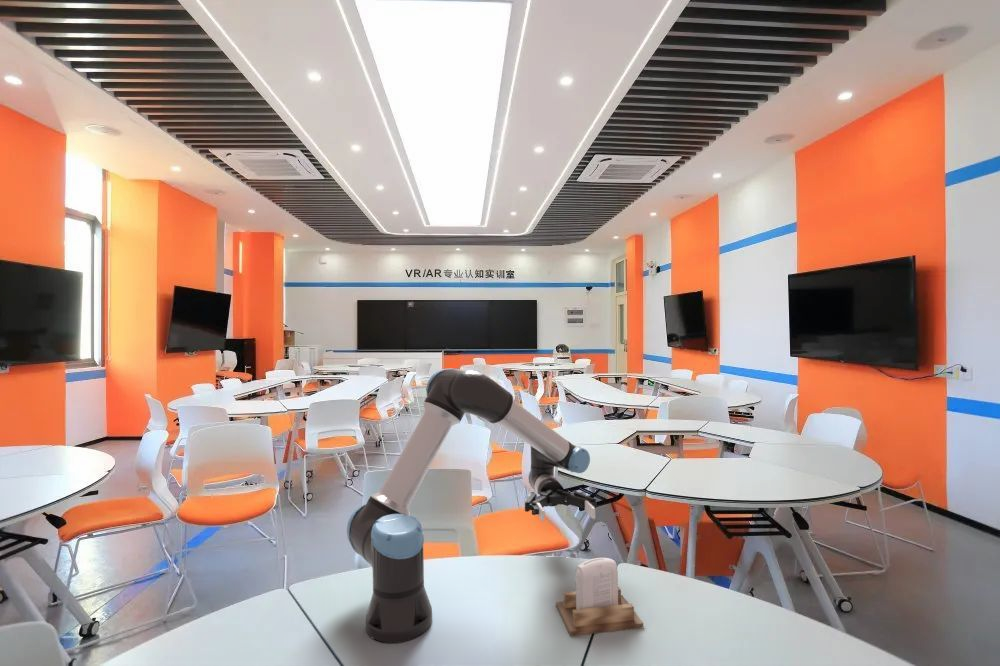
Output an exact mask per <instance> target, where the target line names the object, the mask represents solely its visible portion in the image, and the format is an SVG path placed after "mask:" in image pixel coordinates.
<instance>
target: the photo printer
mask: <svg viewBox="0 0 1000 666" xmlns="http://www.w3.org/2000/svg"><path fill="white" fill-rule="evenodd" d="M618 572H619V571H618V566H617V563H616V561H615V560H613V559H612V558H608V557H597V558H596V557H595V558H592V559H591V558H590V559H588V560H586V561H583V562H581V563H579V564H578V565H576V568H575V591H576V610H577V609H586V608H595V607H604V606H613V605H618V587H619V586H618V585H619V584H618V581H619V580H618V578H619V577H618V575H619V574H618Z"/></svg>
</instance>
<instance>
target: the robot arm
mask: <svg viewBox="0 0 1000 666" xmlns="http://www.w3.org/2000/svg"><path fill="white" fill-rule="evenodd" d="M428 379H429V380H428V381H427V384H426V387H425V391H426V398H425V399H424V402H423V403H422V404H423V409H424V411H423V414H422V416H421V418H420V419H419V421H418V423H417V425H416V426H415V428H414V430H413V432H412V433H411V435H410V437H409V439H408V441H407V443H406V444H405V445H404V448H403V449H402V451H401V453H400V455H399V456H398V459H397V460H396V461H395V464H394V465H393V467H392V469H391V471H390V473H389V474H388V476H387V478H386V479H385V482H384V483H383V485H382V487H381V489H380V490H379V491H378V492H374V493H373V494H370V496H369V498H368V500H367V501H366V502H365V504H363V505H361V506H359V507H357V508H356V509H355V510H354V511H353V513H352V514H351V515H350V517H349V519H348V521H347V525H346V535H347V537H346V538H347V541H348V542H349V544H350V545H351V548H352V549H353V551H354V552H356V554H358V555H359V556H361V557H362V558H363V559H364V560H365V561H366V562H367V563H368V564H369V565H370V566H371V569H372V595H371V599H370V602H369V605H368V609H367V611H366V612H367V613H366V615H365V630H366V634H367V635H368V634H369V635H370V636H371V637H373V638H374V639H373V638H372V639H373V640H375V639H376V640H375V641H377V640H378V642H380V641H382V643H388V644H389V643H391V644H393V643H394V644H395V643H402V642H406V641H410V640H413V639H416V638H418V637H420V636H421V635H422V634H424V633H425V632H426V631H427V630H428V629H429V628H430V626H431V625H432V622H433V609H432V608H433V607H432V605H431V602H430V599H429V596H428V594H427V593H428V592H427V590H426V588H425V576H424V575H425V573H424V572H425V570H424V566H425V565H424V563H425V562H424V561H425V560H424V556H425V555H424V543H425V541H424V540H425V538H424V532H423V526H422V524H421V522H420V521H419V520H418V519H417V518H416V517H414V516H412V515H411V513H410V509H409V507H410V505H411V503H412V501H413V499H414V497H415V496H416V494H417V491H418V490H419V488H420V486H421V484H422V482H423V481H424V479H425V477H426V475H427V473H428V471H429V470H430V468H431V466H432V463H433V462H434V461H435V458H436V456H437V454H438V453H439V450H441V447H442V445H443V443H444V442H445V440H446V438H447V436H448V434H449V432H450V430H451V428H452V427H453V426H454V425H458V424H460V423H461V421H462V419H463V417H464V415H465V414H470V415H472V416H477V417H479V418H482V419H484V420H486V421H487V422H489V423H491V424H494V425H495V424H496V425H497V424H498V425H500V426H501V427H503V428H504V429H506V430H507V431H509V432H510V433H512V434H513V435H514V436H516V437H517V438H519V439H520V440H521V441H523V442H525V443H526V444H528V445H529V446H530V471H529V472H528V475H527V476H528V479H527V480H528V483H529V485H530V487H531V489H533V490H534V491H531V492H530V495H529V496H528V497H527V499H526V500H524V512H530V511H531V515H532V516H538V518H539V519H540V521H541V522H545V520H546V519H545V514H546V512H545V510H544V508H546V507H557V506H558V505H560V506H561V505H563V506H573V507H577V508H580V509H584V511H585V512H586V513H587V515H588V516H589V517H590V518H591V519H592V520H595V519H596V509H597V499H596V498H595V497H591V496H589V495H586V494H584V493H580V492H579V491H577V490H572V492H568V491H565V488H564V487H563V485H562V484H561V482H559V481H558V480H557V478H556V477H555V468H559V469H562V470H565V471H569V472H570V473H576V474H582V473H585V472H586V471H587V470H588V468H589V465H590V463H591V458H590V457H591V456H590V453H589V451H588V450H587V449H585V448H583V447H581V446H577V445H575V444H573V443H572V442H570V441H569V440H567V439H566V438H564V437H563V436H562V435H561V434H559V433H558V432H556V431H555V430H554V429H553V428H551V427H550V426H549V425H547V424H546V423H544V422H543V420H541V419H539V418H538V417H536V416H535V415H534V414H532V413H531V412H530V411H528V410H527V409H526V408H524V407H523V406H522V405H520V404H519V403H518V402H517V401H516V400H514V395H513V394H512V393H511V392H509V390H507V389H506V388H504V387H503V386H502V385H500V384H499V383H498V382H496V381H495V380H493V379H492V378H491V377H489V376H488V375H486V374H484V373H482V372H480V371H477V370H472V369H471V370H469V369H459V368H454V367H453V368H452V367H450V368H444V369H440V370H438V371H436V372H435V373H433V374H432V376H430V378H428ZM369 635H368V636H369ZM370 636H369V637H370ZM371 637H370V638H371Z"/></svg>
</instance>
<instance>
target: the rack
mask: <svg viewBox="0 0 1000 666" xmlns="http://www.w3.org/2000/svg"><path fill="white" fill-rule="evenodd" d="M562 595H563V601H556V602H555V607H556V609H557V611H558V613H559V615H560V617H561V619H562V622H563V624H564V626H565V627H566V630H567V632H568V635H569V636H570V637H574V636H583V635H592V634H601V633H609V632H610V633H611V632H619V631H626V629H628V630H636V629H643V628H644V622H643V621H642V620H641V618H640V616H639V615H638V614H637V613H636V611H635V606H634V605H633V603H629V602H628V600H627V599H626V598H625V597H624V596H623V595H622V589H621V588H620V587H619V586H618V605H613V606H604V607H595V608H586V609H577V610H576V590H574V591H567V592H566V591H563V594H562ZM642 627H643V628H642ZM635 628H636V629H635Z"/></svg>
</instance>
